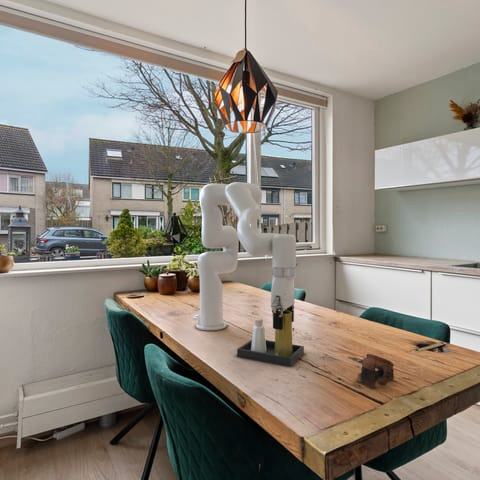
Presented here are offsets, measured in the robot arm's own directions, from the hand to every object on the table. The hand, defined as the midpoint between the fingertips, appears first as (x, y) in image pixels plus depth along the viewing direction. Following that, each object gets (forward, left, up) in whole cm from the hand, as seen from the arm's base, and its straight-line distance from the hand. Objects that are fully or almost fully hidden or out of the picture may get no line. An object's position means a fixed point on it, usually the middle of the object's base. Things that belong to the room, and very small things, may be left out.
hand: (283, 325), depth 116 cm
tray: (-4, 0, -10) cm, 11 cm away
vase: (0, 0, -10) cm, 10 cm away
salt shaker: (-9, 0, -10) cm, 14 cm away
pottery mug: (+30, -6, -11) cm, 32 cm away
